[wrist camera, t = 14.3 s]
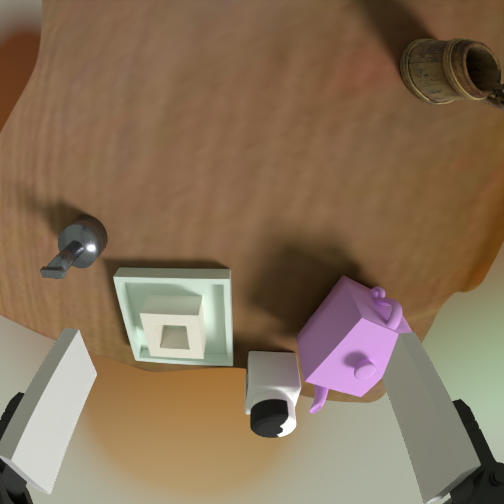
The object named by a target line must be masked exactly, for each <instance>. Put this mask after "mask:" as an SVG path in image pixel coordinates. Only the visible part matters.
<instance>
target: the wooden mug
mask: <svg viewBox="0 0 504 504" xmlns="http://www.w3.org/2000/svg"><path fill="white" fill-rule="evenodd" d="M400 70H401V75H402V79H403V81H404V83H405V85H406V87H407V88H408V89H409V91H410V92H411V93H412V94H413V95H415V96H416V97H417V98H418V99H420V100H422V101H423V102H426V103H429V104H437V105H441V104H446V103H449V102H452V101H454V100H461V99H468V100H476V101H477V100H479V101H481V102H483V103H485V104H488V105H490V106H492V107H495V108H497V109H500V110H504V84H503V85H502V84H500V81H501V68H500V64H499V61H498V59H497V57H496V56H495V54H494V53H493V52H492V50H491V49H490V48H489V47H488V46H486V45H485V44H484V43H481V42H476V41H475V40H471V39H453V40H450V41H438V40H434V39H417V40H414V41H412V42H411V43H409V44H408V45H407V46H406V47H405V49H404V51H403V52H402V56H401V59H400ZM491 95H494V96H495V97H496V98H494V97H492V96H491Z"/></svg>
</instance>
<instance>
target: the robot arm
mask: <svg viewBox="0 0 504 504" xmlns="http://www.w3.org/2000/svg"><path fill="white" fill-rule="evenodd" d="M96 376H97V373H96V371H95V368H94V366H93V364H92V361H91V359H90V357H89V354H88V352H87V349H86V347H85V344H84V342H83V339H82V337H81V334H80V331H79V330H78V329H70V328H64V329H63V331H62V333H61V334H60V336H59V337H58V339H57V340H56V342H55V343H54V345H53V347H52V349H51V350H50V352H49V353H48V355H47V356H46V358H45V360H44V361H43V363H42V365H41V366H40V368H39V370H38V371H37V373H36V375H35V377H34V378H33V380H32V382H31V384H30V385H29V387H28V389H27V391H26V392H25V394H24V393H20V392H19V393H18V394H17V395H15V396H14V397H13V398H12V399H11V400H10V402H9V404H8V405H7V407H6V409H5V412H4V413H3V415H2V417H1V420H0V504H33V502H32V499H31V497H30V494H29V491H28V490H27V488H26V484H27V482H28V483H29V484H30V485H31V486H32V487H34V488H35V489H37V490H40V491H42V492H44V493H47V494H51V492H52V489H53V486H54V483H55V480H56V477H57V474H58V471H59V468H60V465H61V462H62V460H63V457H64V454H65V451H66V449H67V446H68V443H69V441H70V438H71V436H72V433H73V430H74V428H75V425H76V423H77V420H78V418H79V415H80V413H81V410H82V408H83V406H84V403H85V401H86V399H87V396H88V394H89V392H90V389H91V387H92V385H93V382H94V380H95V378H96ZM382 380H383V383H384V385H385V388H386V391H387V393H388V396H389V399H390V401H391V404H392V407H393V410H394V412H395V415H396V418H397V421H398V424H399V426H400V429H401V432H402V435H403V438H404V441H405V444H406V447H407V450H408V453H409V456H410V459H411V462H412V465H413V469H414V472H415V475H416V478H417V482H418V485H419V488H420V492H421V495H422V499H423V502H424V504H428V503H431V502H433V501H436V500H439V499H442V498H443V497H444V496H446V495H447V494H448V493H449V492H450V495H451V498H450V499H448V500H447V501H446V502H444V503H443V504H504V464H503V463H499V462H496V461H495V459H494V457H493V455H492V453H491V451H490V449H489V446H488V444H487V442H486V440H485V438H484V436H483V433H482V431H481V429H479V425H478V423H477V421H475V417H474V415H473V413H472V411H471V409H470V407H469V406H467V405H466V404H465V403H464V402H463V401H462V400H461V399H459V400H455V401H451V398H450V396H449V394H448V392H447V391H446V388H445V387H444V385H443V383H442V381H441V379H440V377H439V375H438V373H437V371H436V369H435V368H434V366H433V364H432V362H431V360H430V358H429V357H428V355H427V353H426V351H425V350H424V348H423V346H422V344H421V342H420V341H419V339H418V337H417V335H416V334H415V332H409V333H399V335H398V338H397V340H396V343H395V346H394V349H393V351H392V354H391V357H390V359H389V362H388V364H387V367H386V369H385V372H384V374H383V377H382Z"/></svg>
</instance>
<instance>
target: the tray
mask: <svg viewBox="0 0 504 504" xmlns="http://www.w3.org/2000/svg"><path fill="white" fill-rule="evenodd" d="M113 278H114V283H115V287H116V291H117V295H118V299H119V303H120V307H121V311H122V315H123V319H124V322H125V326H126V330H127V333H128V337H129V340H130V344H131V347H132V350H133V353H134V357H135V360H137V361H148V362H160V363H173V364H190V365H214V366H233V356H234V352H233V326H232V295H231V269H180V268H124V267H119V269H118V270H117V272H116V273H115V275H114V276H113ZM148 294H150V295H181V296H203V306H204V317H205V327H206V337H207V340H206V346H205V352H204V359H191V358H173V357H159V356H150V353H149V349H148V345H147V341H146V337H145V333H144V329H143V325H142V321H141V317H140V311H141V309H142V307H143V305H144V303H145V300H146V298H147V296H148ZM166 328H173V329H186V326H176V325H166Z"/></svg>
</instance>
